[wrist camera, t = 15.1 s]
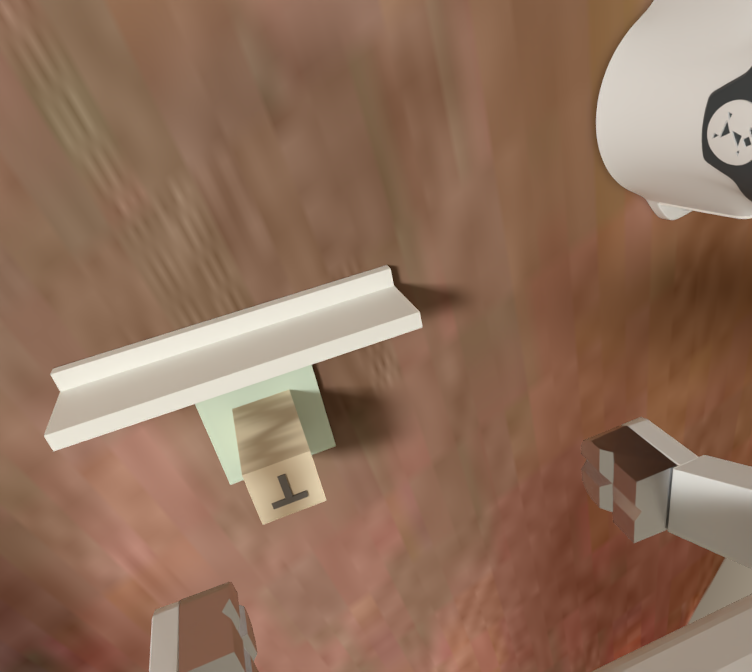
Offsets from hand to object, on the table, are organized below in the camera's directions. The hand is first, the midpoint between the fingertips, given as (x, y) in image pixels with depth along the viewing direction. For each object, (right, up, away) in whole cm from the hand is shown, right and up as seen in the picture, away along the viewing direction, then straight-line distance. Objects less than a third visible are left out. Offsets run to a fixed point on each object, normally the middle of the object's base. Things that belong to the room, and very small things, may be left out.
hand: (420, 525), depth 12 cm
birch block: (-9, -3, +31) cm, 33 cm away
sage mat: (-10, -2, +32) cm, 33 cm away
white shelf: (-11, +4, +28) cm, 30 cm away
